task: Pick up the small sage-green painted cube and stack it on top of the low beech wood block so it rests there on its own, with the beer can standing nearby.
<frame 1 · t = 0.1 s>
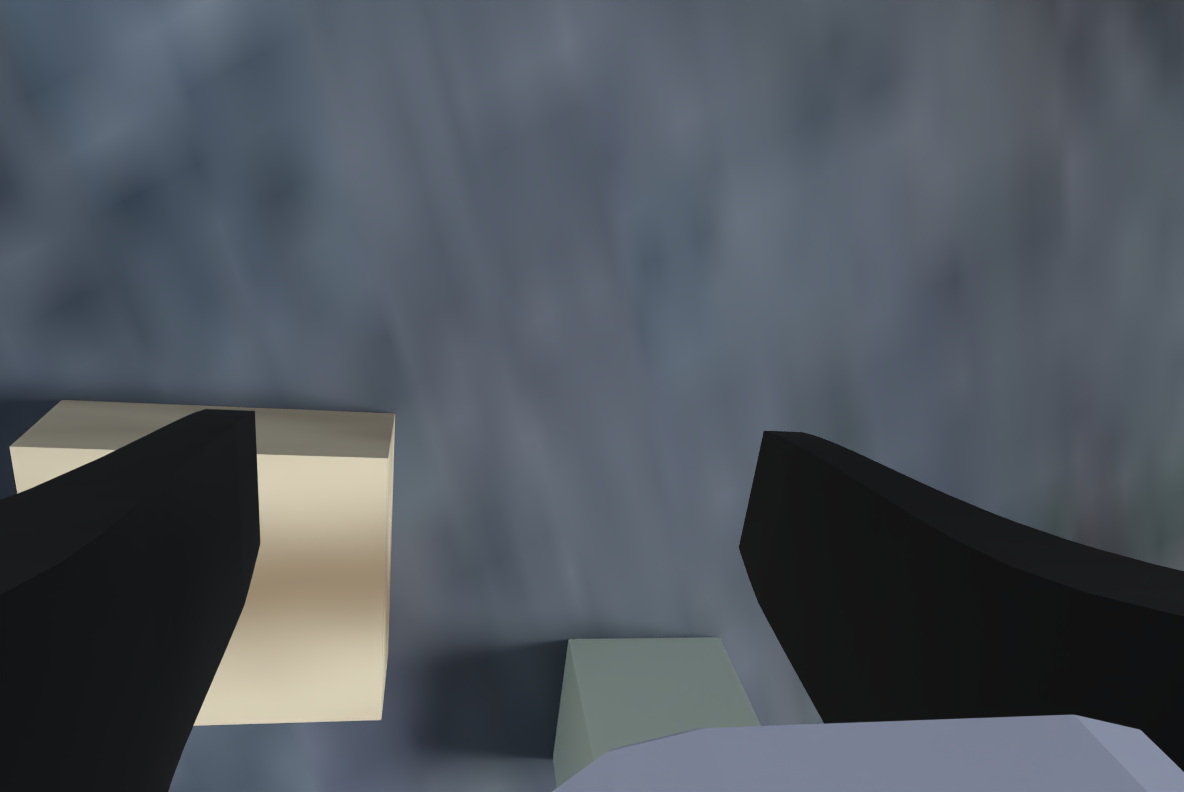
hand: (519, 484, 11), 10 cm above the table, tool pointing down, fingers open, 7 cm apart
cube: (634, 697, 27), on the table
pedestal: (244, 532, 22), on the table
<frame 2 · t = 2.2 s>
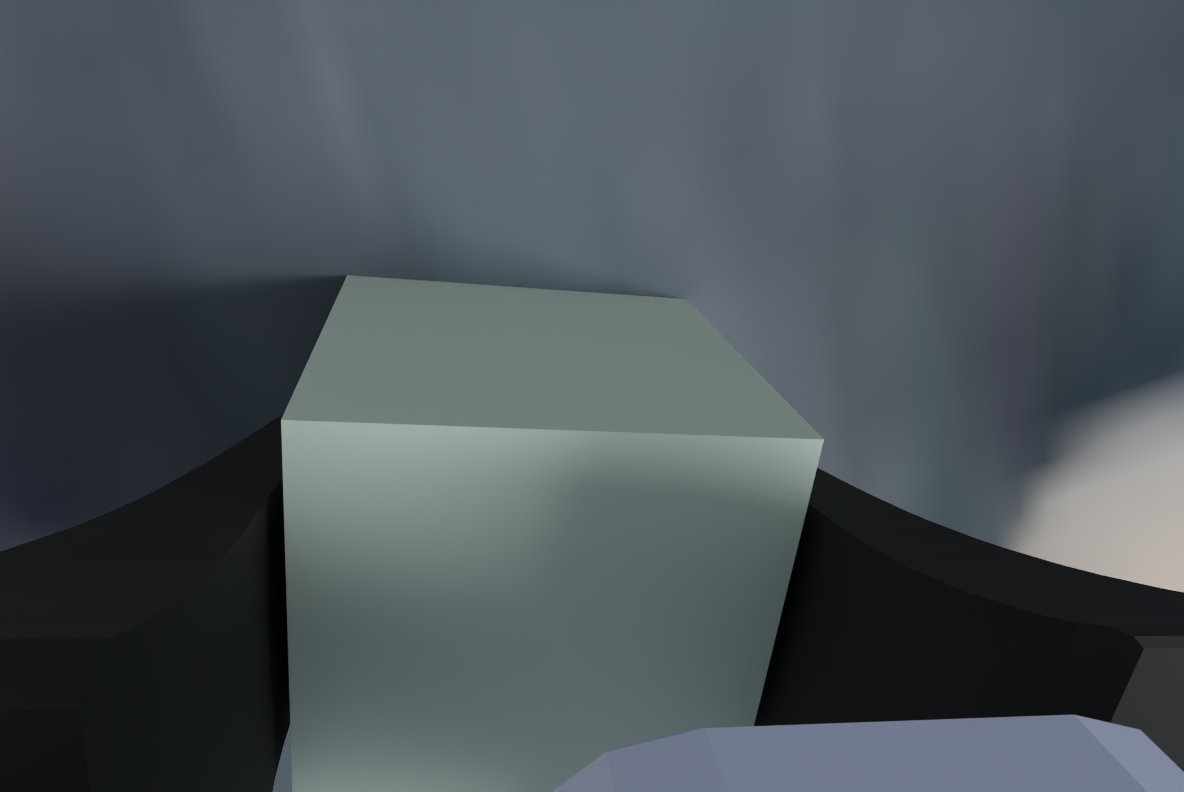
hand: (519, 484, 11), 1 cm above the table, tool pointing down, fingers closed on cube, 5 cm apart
cube: (510, 439, 13), on the table, touching gripper
when the fingers open (6 cm above the table, at t = 5.7 s): cube drops 1 cm, resting on pedestal.
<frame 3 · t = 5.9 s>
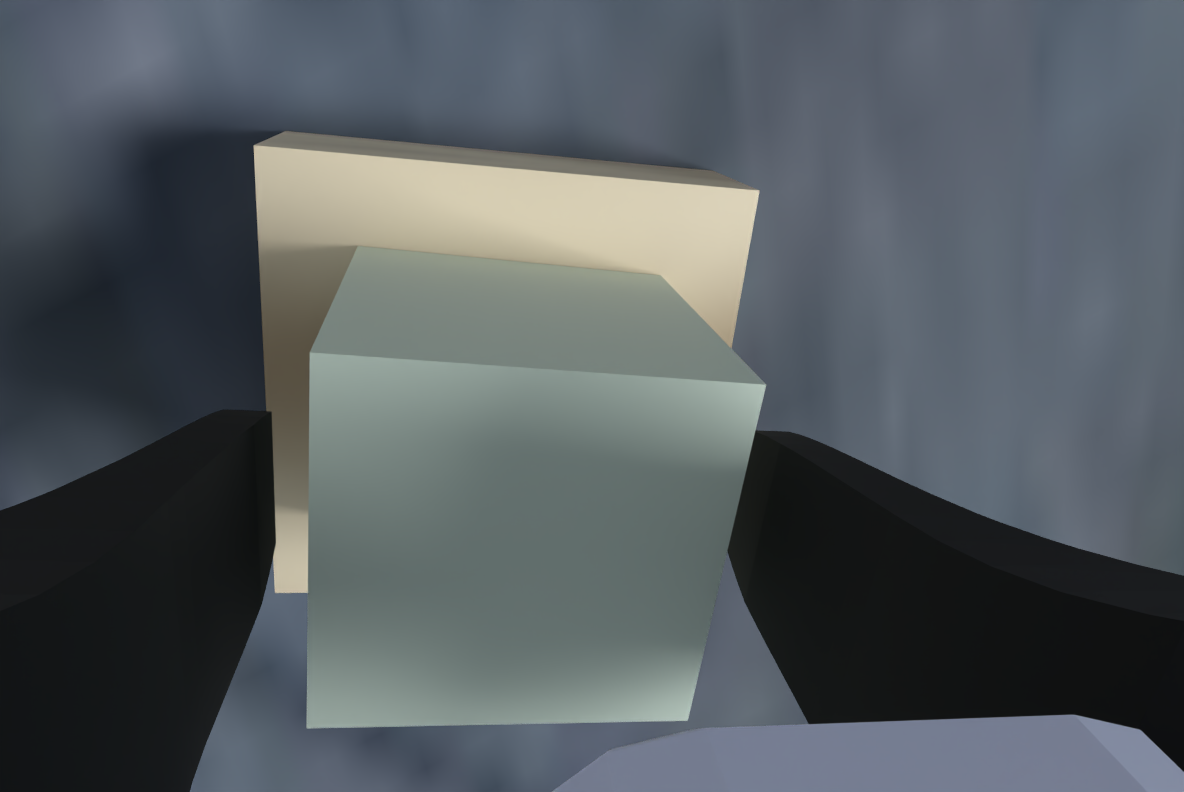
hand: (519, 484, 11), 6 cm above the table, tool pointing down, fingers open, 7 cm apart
cube: (500, 400, 14), point 3 cm above the table, touching pedestal
pedestal: (495, 346, 17), on the table, touching cube
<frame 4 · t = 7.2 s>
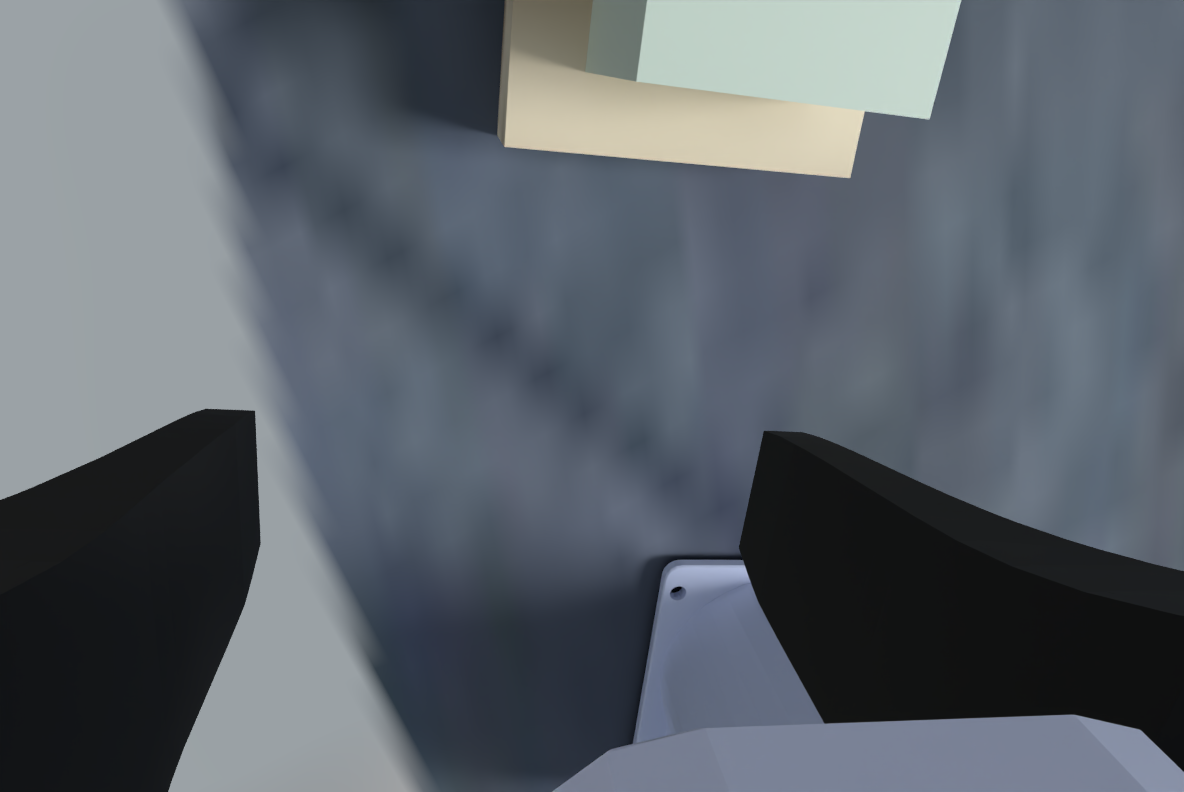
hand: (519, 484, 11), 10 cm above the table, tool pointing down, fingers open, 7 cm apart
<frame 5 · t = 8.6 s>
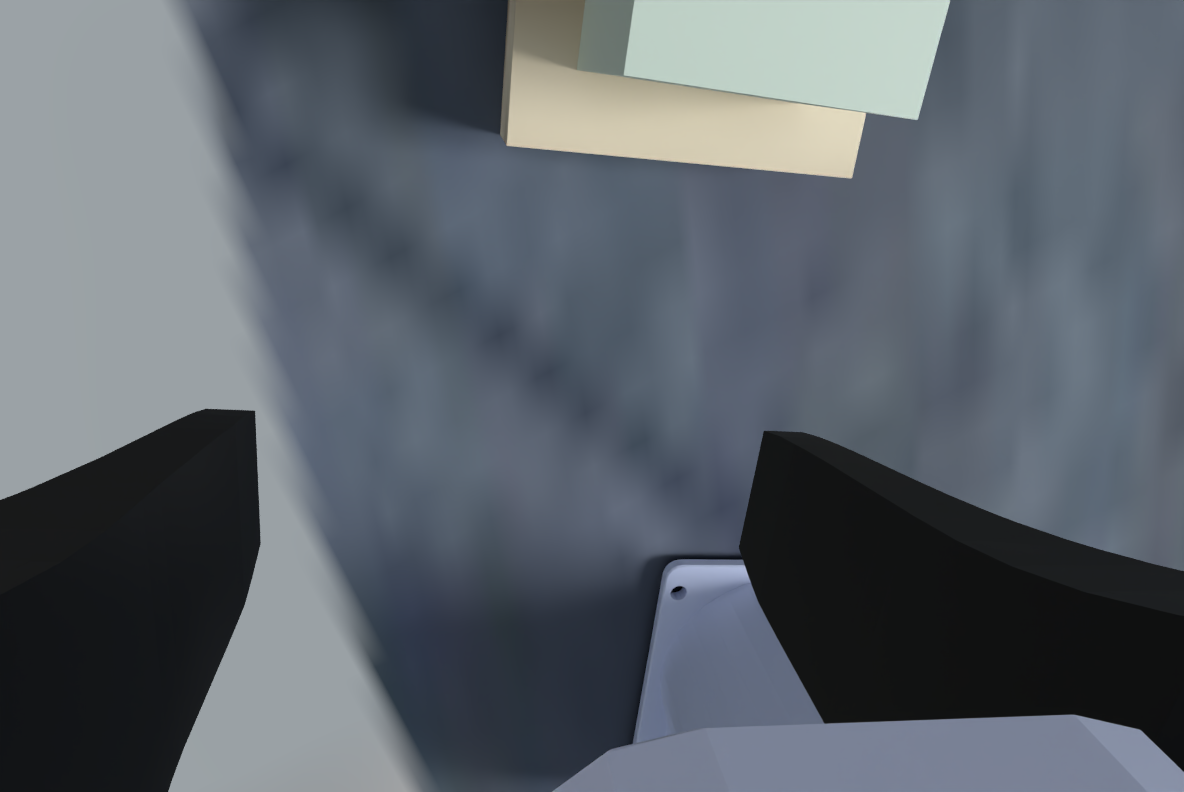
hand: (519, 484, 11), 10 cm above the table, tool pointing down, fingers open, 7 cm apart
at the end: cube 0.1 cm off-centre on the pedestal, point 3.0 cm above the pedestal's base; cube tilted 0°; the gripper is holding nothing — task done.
